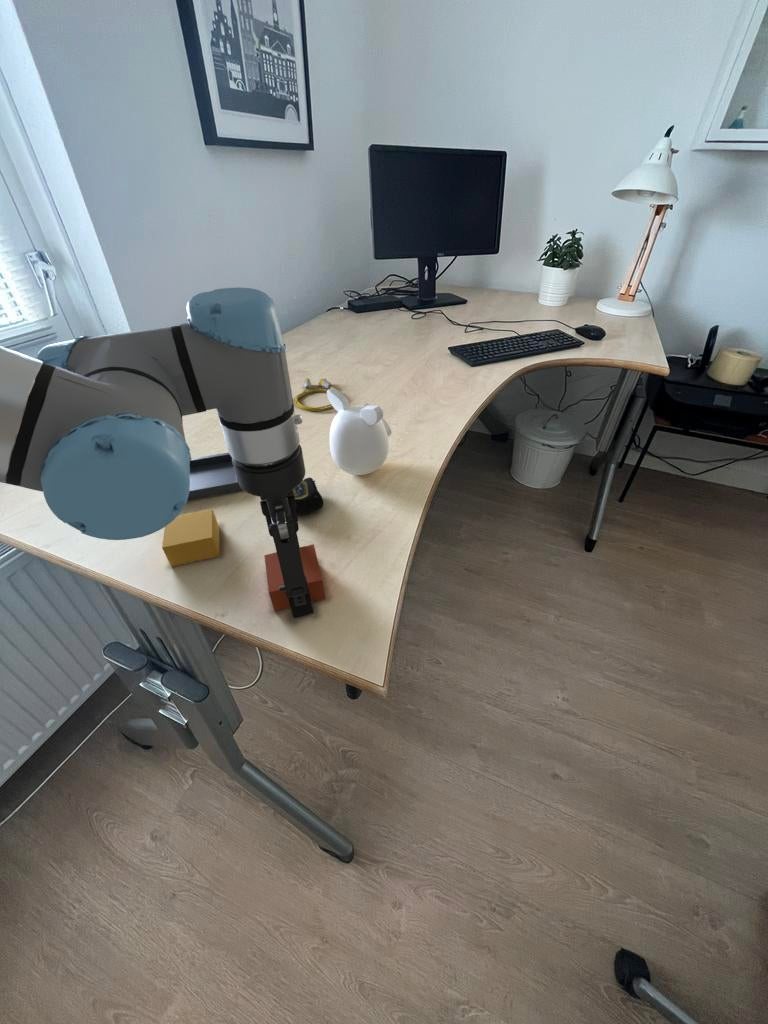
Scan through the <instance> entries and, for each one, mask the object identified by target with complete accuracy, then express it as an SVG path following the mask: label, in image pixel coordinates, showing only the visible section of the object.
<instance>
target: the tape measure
mask: <svg viewBox="0 0 768 1024" xmlns="http://www.w3.org/2000/svg"><path fill="white" fill-rule="evenodd" d="M317 487H318V486H317V485H316V480H314V478H312V477H305V478H304V479H303V481H302V482H301V483H300V484H299V485H298V486H297V487H296V488H294V489H293V493H294V496H295V501H296V506H297V508H296V510H295V511H296V513H297V516H305V515H307V514H310V513H312V512H314V511H315V512H316V511H319V510H321V509H322V508H323V507H324V498H323V496H322V495H321V493H320V492H319V490H318V488H317Z"/></svg>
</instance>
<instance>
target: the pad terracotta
mask: <svg viewBox="0 0 768 1024" xmlns="http://www.w3.org/2000/svg"><path fill="white" fill-rule="evenodd" d="M299 551H300V556H301V561H302V565H303V570H304V575H305V576H306V579H307V584H308V587H309V593H310V598H311V603H315V602H319V601H324V600H327V599H326V598H327V597H326V592H325V586H324V580H323V575H322V572H321V568H320V567H321V566H320V563H319V561H318V559H319V558H318V556H317V552H316V548H315V545H314V544H308V545H304V546H299ZM263 557H264V564H265V571H266V581H267V588H268V589H267V590H268V594H269V598H270V601H271V604H272V605H271V606H272V608H273V611H274V612H278V611H282V610H286V609H289V608H290V609H291V607H290V604H289V600H288V597H287V595H286V594H285V591H282V592H280V589H279V585H282V584H284V581H283V576H282V572H281V568H280V564H279V560H278V556H277V551H276V552H273V553H267V554H264V555H263Z"/></svg>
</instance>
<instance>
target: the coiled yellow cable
mask: <svg viewBox="0 0 768 1024" xmlns="http://www.w3.org/2000/svg"><path fill="white" fill-rule="evenodd" d="M303 386H304V390H303V391H302V392H301V393H299V394H297V395H296V397H295V399H294V405H296V407H298V408H300V409H302V410H304V411H309V412H323V411H327V410H328V411H329V410H331V409H334V407H333V406H332V405H331V403H329V404H327V405H324V406H318V407H312V406H306V405H304V404H302V403H301V402H299V399H301V398H302V397H304V396H307V395H310V394H312V393H327V391H328V390H329V389H331V388H333V384H332V383H331V382H329V381H328V380H327V379H326V378H320V379H319V381H318V386H321V387H323V388H325V389H321V388H320V389H319V388H316V389H315V388H314V389H313V388H312V389H311V387H312V383H311V380H310V378H305V379H304V382H303Z"/></svg>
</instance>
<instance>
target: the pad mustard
mask: <svg viewBox="0 0 768 1024" xmlns="http://www.w3.org/2000/svg"><path fill="white" fill-rule="evenodd" d="M162 538H163V539H162V546H161V549H162V551H163V553H164V554H165V557H166V559H167V561H168V563H169V565H170V567H176V566H180V565H185V564H190V563H194V562H200V561H204V560H208V559H214V558H219V557H220V526H219V523H218V520H217V517H216V514H215V511H214V509H213V508H210V509H204V510H199V511H193V512H189V513H184V514H179V515H178V516H177V517H176V518H175V519H174V520H173V521H172V522H171V523H170V524H168V525H167V526H165V527H164V530H163V537H162Z"/></svg>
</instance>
